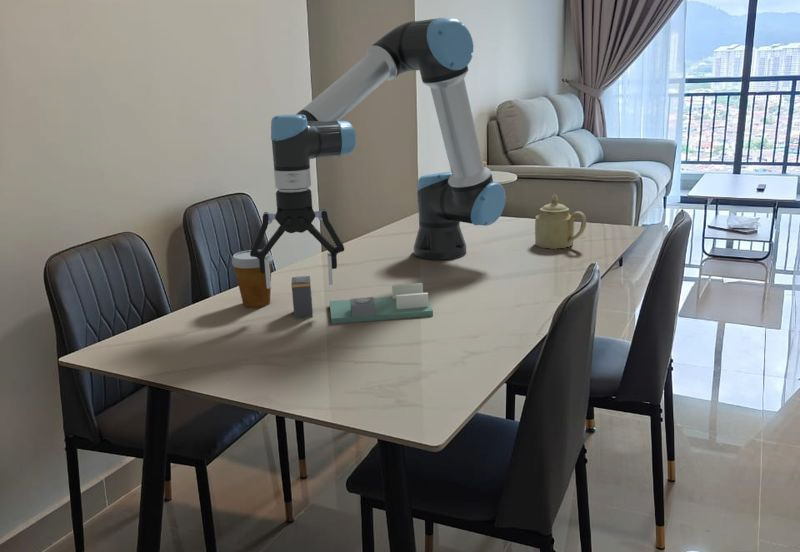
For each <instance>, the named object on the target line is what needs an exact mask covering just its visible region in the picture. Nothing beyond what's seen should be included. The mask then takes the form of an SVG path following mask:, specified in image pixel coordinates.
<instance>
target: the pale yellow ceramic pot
mask: <svg viewBox="0 0 800 552" xmlns="http://www.w3.org/2000/svg"><path fill="white" fill-rule="evenodd" d="M550 200H551V203H548V204H545V205H543V206H542V207H540V208H539V210H540V211H541V212H540V213H539V214H537V215H535V221H534V222H535V223H534V240H535V241H534V242H535V246H536V245H537V246H536V247H538V248H540V247H542V248H541V249H545V248H550V249H549V250H558V249H557V248H564V249H567V248H566V247H569V248H571V247H572V246H573V245H574V240H576V239H578V238H579V237H580V236H582V235H583V233H584V231H585V229H586V226H587V217H586V215H585V213H584V212H582V211H577V210H576V211H574V212H573V213H572V214H570V213H569V210H570V208H569V207H567V206H566V205H565V204H562V203H558V201H559V197H558V196H557V194H553V195H552V197H551V199H550ZM577 215H578V216H579V217H580V221H581V222H580V223H581V224H580V227H579V230H578V231H577V233H576V234H575V235H574V231H575V230H574V229H575V219H576V217H577ZM570 246H571V247H570Z"/></svg>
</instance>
